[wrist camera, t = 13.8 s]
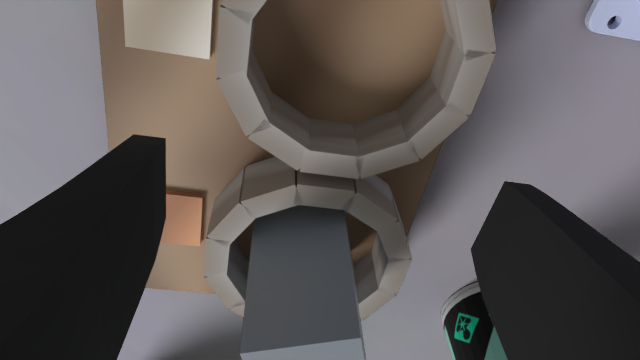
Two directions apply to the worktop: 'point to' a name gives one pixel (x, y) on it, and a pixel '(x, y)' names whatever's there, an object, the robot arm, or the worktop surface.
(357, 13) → the socket board
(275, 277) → the plug
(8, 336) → the robot arm
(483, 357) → the spray can
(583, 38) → the worktop surface
